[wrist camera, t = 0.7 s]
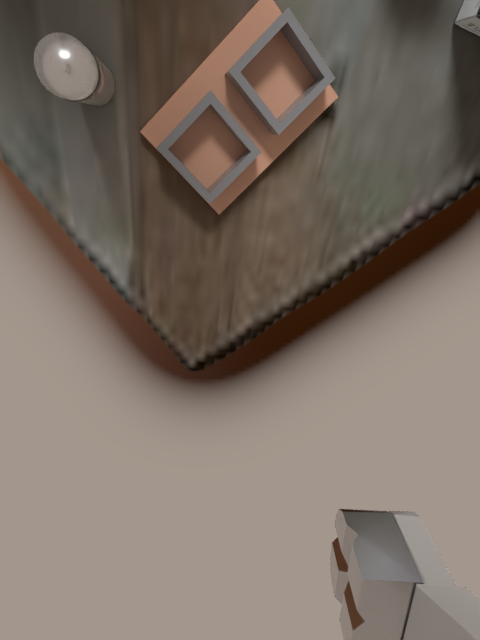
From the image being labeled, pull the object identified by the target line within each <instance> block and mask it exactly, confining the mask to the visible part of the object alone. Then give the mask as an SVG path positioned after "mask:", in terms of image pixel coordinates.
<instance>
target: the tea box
mask: <svg viewBox="0 0 480 640" xmlns="http://www.w3.org/2000/svg"><path fill="white" fill-rule="evenodd" d="M455 24H456V25H458V26H460V27H462V28H464V29H466V30H468V31H470V32H472V33H474V34H476V35H478V36H480V0H464V2H463V4H462V7H461V9H460V11H459V14H458V16H457V18H456V20H455Z"/></svg>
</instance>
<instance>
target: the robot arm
mask: <svg viewBox="0 0 480 640" xmlns="http://www.w3.org/2000/svg"><path fill="white" fill-rule="evenodd" d="M335 528H336V532H337V536H338V537H337V538H336V539H335V540H334V541H333V542H332V548H331V578H332V585H333V590H334V595H335V597H336V598H337V600H338V601H339V602H340V603H341V604H342V608H341V615H340V623H341V628H342V633H343V637H344V640H480V599H479V598H478V597H477V596H475V594H473V593H472V592H471V591H470V590H468V589H467V588H466V587H461V586H456V584H455V582H454V580H453V578H452V577H451V575H450V573H449V571H448V569H447V567H446V565H445V564H444V562H443V560H442V558H441V556H440V554H439V552H438V550H437V549H436V547H435V545H434V543H433V541H432V539H431V537H430V535H429V533H428V532H427V530H426V528H425V526H424V524H423V522H422V520H421V518H420V517H419V515H418V514H416V513H415V512H408V511H405V512H404V511H389V512H388V511H373V510H372V511H371V510H353V509H339V510H338V512H337V514H336V520H335Z"/></svg>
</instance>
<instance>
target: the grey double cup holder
mask: <svg viewBox="0 0 480 640" xmlns="http://www.w3.org/2000/svg"><path fill="white" fill-rule="evenodd" d="M334 79H335V77H334V75H333V74H332V72H331V71H330V69H329V68H328V66H327V65H326V63H325V62H324V60H323V59H322V57H321V56H320V54H319V53H318V51H317V50H316V48H315V46H314V45H313V43H312V42H311V40H310V39H309V37H308V36H307V34H306V33H305V31H304V30H303V28H302V27H301V25H300V24H299V22H298V21H297V19H296V18H295V16H294V15H293V13H292V12H291V10H290V9H289V7H288V8H287V9H286V10H284V11H283V12H282V13H281V11H280V10H279V8H278V7H277V5H276V4H275V2H274V1H273V0H259V1H258V2H257V3H256V5H255V6H254V7H253V8H252V9H251V10H250V11H249V12H248V13H247V14H246V15H245V17H244V18H243V19H242V20H241V21H240V22H239V23H238V24H237V25H236V26H235V28H234V29H233V30H232V31H231V32H230V33H229V34H228V35H227V36H226V37H225V39H224V40H223V41H222V42H221V43H220V44H219V45H218V46H217V47H216V48H215V50H214V51H213V52H212V53H211V54H210V55H209V56H208V57H207V58H206V59H205V61H204V62H203V63H202V64H201V65H200V66H199V67H198V68H197V69H196V70H195V72H194V73H193V74H192V75H191V76H190V77H189V78H188V79H187V80H186V81H185V83H184V84H183V85H182V86H181V87H180V88H179V89H178V90H177V91H176V92H175V94H174V95H173V96H172V97H171V98H170V99H169V100H168V101H167V102H166V103H165V105H164V106H163V107H162V108H161V109H160V110H159V111H158V112H157V113H156V114H155V115H154V117H153V118H152V119H151V120H150V121H149V122H148V123H147V124H146V125H145V126H144V128H143V129H142V130H141V131H140V132H141V133H142V135H143V136H144V137H145V138H146V139H147V140H148V141H149V142H150V143H151V144H152V145H153V146H154V147H155V148H156V149H157V150H158V151H159V152H160V153H161V154H162V155H163V157H164V158H165V159H166V160H167V161H168V162H169V163H170V164H171V165H172V166H173V167H174V168H175V169H176V170H177V171H178V172H179V173H180V174H181V175H182V176H183V177H184V179H185V180H186V181H187V182H188V183H189V184H190V185H191V186H192V187H193V188H194V189H195V190H196V191H197V192H198V193H199V194H200V195H201V196H202V197H203V198H204V199H205V201H206V202H207V203H208V204H209V205H210V206H211V207H212V208H213V209H214V210H215V211H216V212H217V213H218V214H220V213H221V212H222V211H223V210H224V209H225V208H226V207H227V206H229V205H230V204H231V203H232V202H233V201H234V200H235V199H236V198H237V197H238V196H239V195H240V194H241V193H242V192H243V191H244V190H245V189H246V188H247V187H248V186H249V185H250V184H251V183H252V182H253V181H254V180H255V179H256V178H257V177H258V176H259V175H260V174H261V173H262V172H263V171H264V170H265V169H266V168H267V167H268V166H269V165H270V164H271V163H272V162H273V161H274V160H275V159H276V158H277V157H278V156H279V155H280V154H281V153H282V152H283V151H284V150H285V149H286V148H287V147H288V146H289V145H290V144H291V143H292V142H293V141H294V140H295V139H296V138H297V137H298V136H299V135H300V134H301V133H302V132H303V131H304V130H305V129H306V128H307V127H308V126H309V125H310V124H311V123H312V122H313V121H314V120H315V119H316V118H317V117H318V116H319V115H320V114H321V113H322V112H323V111H324V110H325V109H326V108H327V107H328V106H329V105H330V104H331V103H333V102H334V101H335V100H336V99H337V98H338V96H337V95H336V93H335V92H334V90H333V89H332V87H331V86H330V83H331V82H332V81H333V80H334Z"/></svg>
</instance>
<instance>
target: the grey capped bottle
mask: <svg viewBox="0 0 480 640" xmlns="http://www.w3.org/2000/svg"><path fill="white" fill-rule="evenodd" d="M34 67H35V71H36V74H37V76H38V78H39V80H40V82H41V83H42V84H43V86H44V87H45V88H46V89H47V90H48V91H50V92H51V93H52V94H54V95H56V96H58V97H60V98H64V99H66V100H70V101H76V102H82V103H86V104H90V105H96V106H100V105H104V104H106V103H107V102H109V101H110V100H111V98H112V97H113V95H114V92H115V81H114V78H113V75H112V73H111V71H110V70H109V69H108V68H107V67H106V66H105V65H104V64H103V63H102V62H101V61H100V60H99V59H98V58H97V57H96V56H95V55H94V54H93V53H92V52H91V51H90V50H89V49H88V48H87V47H86V46H85V45H84V44H83V43H81V42H80V41H79V40H78V39H76V38H75V37H73V36H71V35H69V34H66V33H60V32H56V33H51V34H48V35H46V36H45V37H43V38H42V39H41V40H40V41H39V43H38V44H37V46H36V48H35V52H34Z"/></svg>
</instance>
